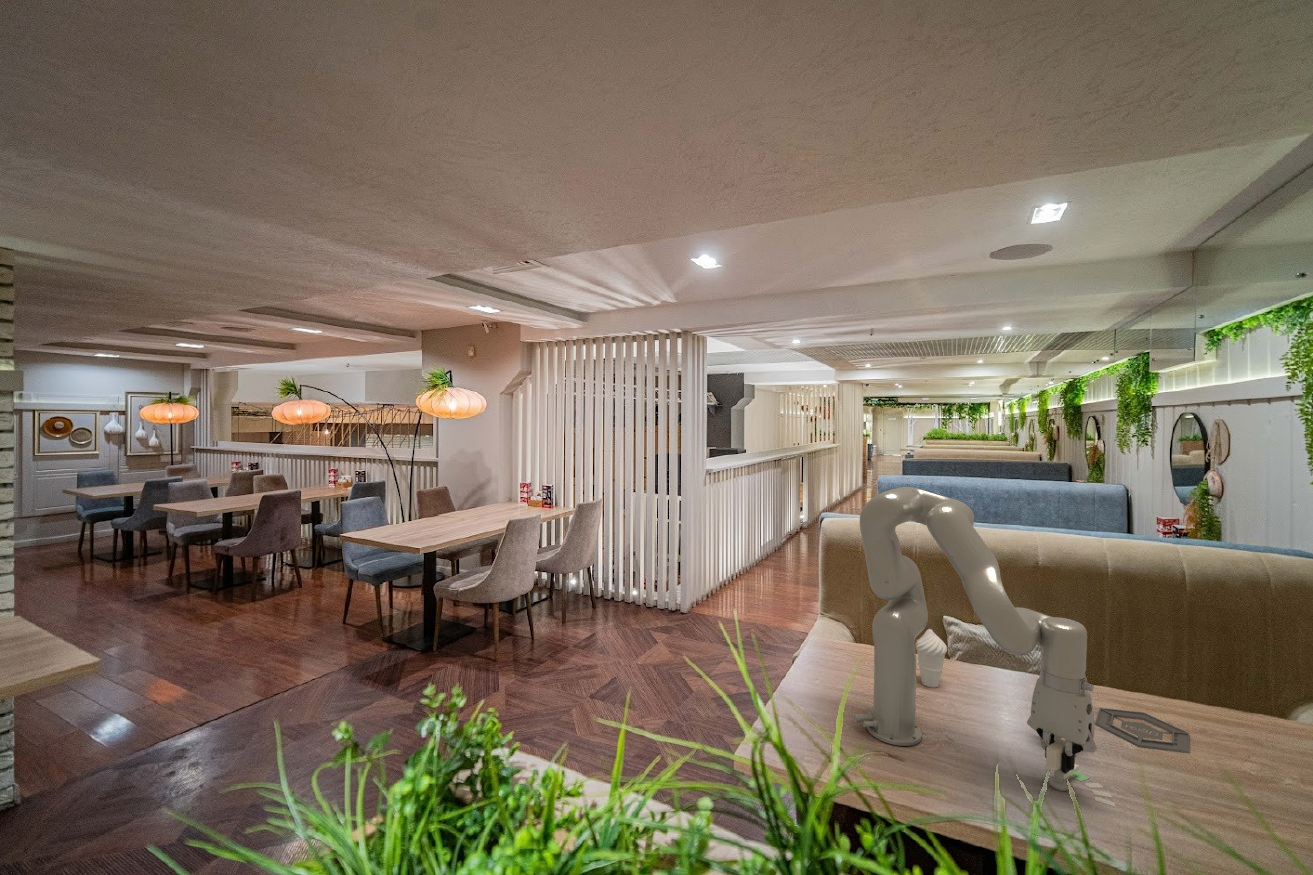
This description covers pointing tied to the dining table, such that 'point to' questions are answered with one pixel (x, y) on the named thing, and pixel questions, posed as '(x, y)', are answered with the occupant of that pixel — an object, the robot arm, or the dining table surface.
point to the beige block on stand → (1058, 765)
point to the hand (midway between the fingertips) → (1059, 766)
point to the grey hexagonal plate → (1178, 736)
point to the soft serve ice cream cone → (930, 658)
